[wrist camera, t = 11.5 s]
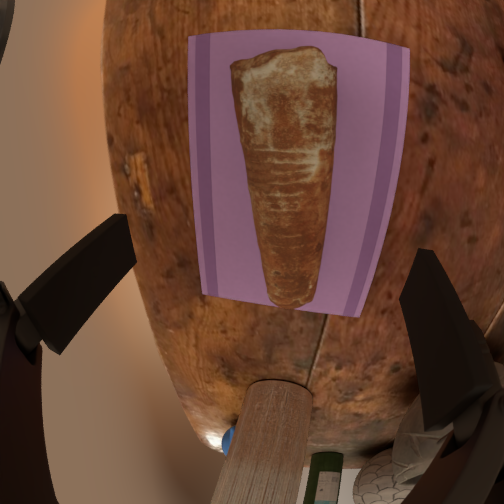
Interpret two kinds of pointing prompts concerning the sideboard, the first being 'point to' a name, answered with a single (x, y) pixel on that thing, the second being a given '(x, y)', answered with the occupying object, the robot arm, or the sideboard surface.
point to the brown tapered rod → (288, 162)
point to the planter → (267, 446)
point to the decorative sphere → (379, 482)
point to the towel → (344, 168)
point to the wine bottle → (324, 478)
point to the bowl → (418, 442)
